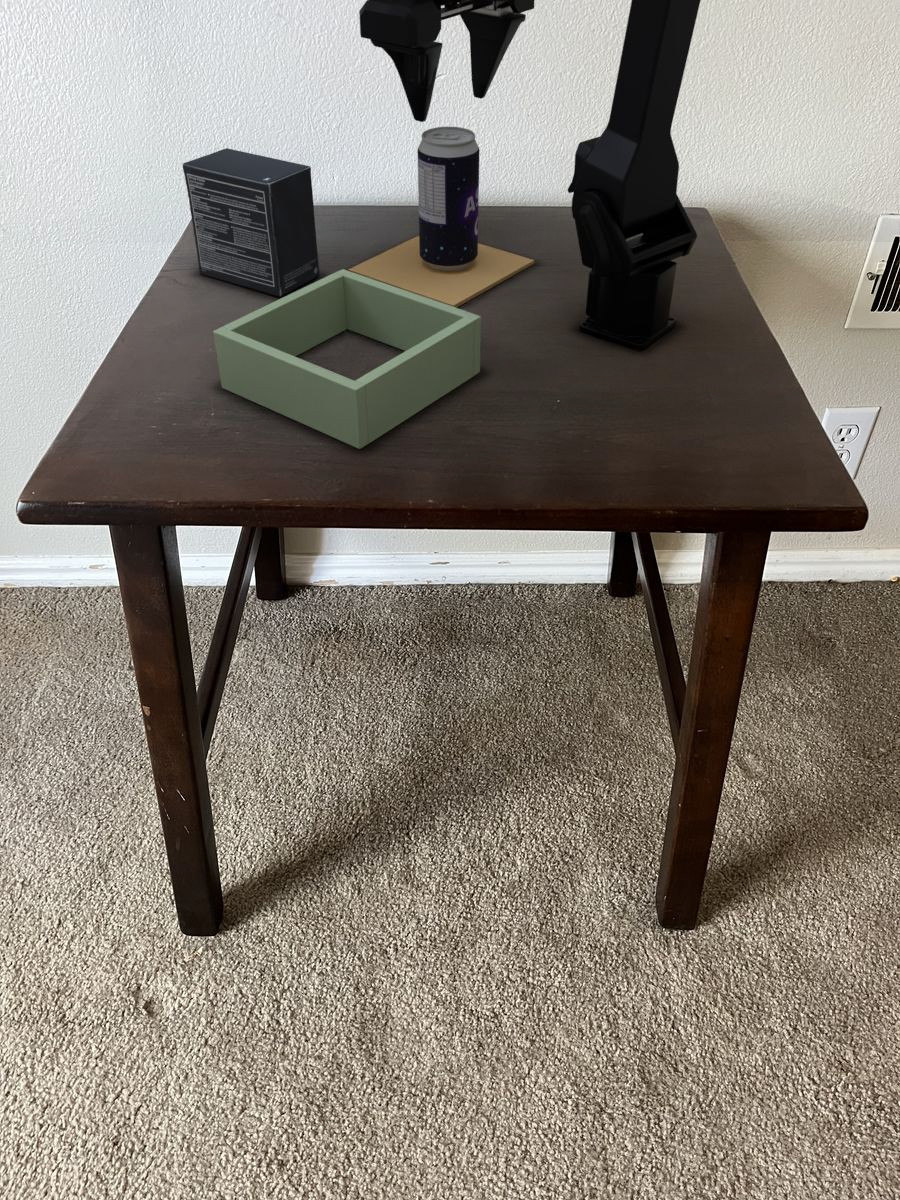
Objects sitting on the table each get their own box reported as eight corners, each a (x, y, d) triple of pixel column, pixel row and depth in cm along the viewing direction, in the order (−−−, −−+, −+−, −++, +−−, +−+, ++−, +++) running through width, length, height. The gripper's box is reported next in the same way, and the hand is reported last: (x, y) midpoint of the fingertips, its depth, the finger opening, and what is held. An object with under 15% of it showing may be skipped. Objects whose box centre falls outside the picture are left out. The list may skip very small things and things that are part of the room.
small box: (324, 275, 101) (315, 163, 94) (281, 299, 97) (268, 184, 90) (241, 251, 105) (226, 143, 98) (196, 274, 101) (178, 163, 94)
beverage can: (471, 277, 100) (473, 146, 92) (414, 272, 100) (410, 142, 93) (482, 253, 104) (484, 127, 96) (426, 249, 105) (424, 123, 97)
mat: (534, 263, 103) (534, 259, 103) (453, 309, 95) (453, 305, 95) (431, 232, 109) (431, 229, 109) (348, 273, 101) (348, 269, 101)
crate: (480, 372, 86) (481, 315, 83) (359, 449, 77) (355, 389, 74) (346, 322, 93) (342, 268, 90) (221, 388, 84) (212, 331, 81)
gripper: (442, -111, 96) (442, 72, 107) (304, -85, 85) (319, 116, 95) (543, -99, 91) (532, 92, 102) (410, -70, 80) (414, 141, 90)
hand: (450, 108), depth 97 cm, fingers open, 9 cm apart
